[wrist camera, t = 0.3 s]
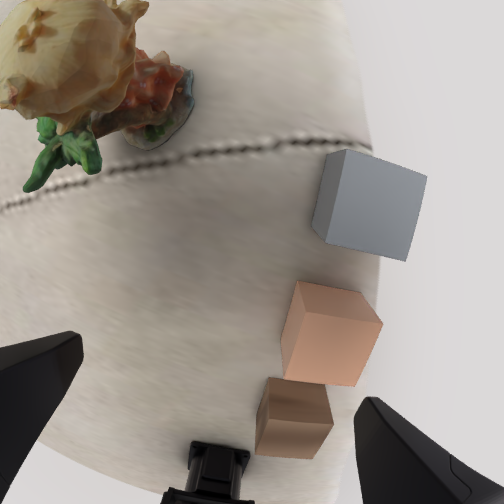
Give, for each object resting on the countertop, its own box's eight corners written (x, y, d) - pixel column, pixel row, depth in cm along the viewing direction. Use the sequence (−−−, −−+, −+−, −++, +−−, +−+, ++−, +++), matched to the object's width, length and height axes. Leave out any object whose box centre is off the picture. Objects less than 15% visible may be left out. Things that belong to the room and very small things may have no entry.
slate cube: (376, 241, 20) (405, 261, 15) (310, 225, 20) (325, 243, 15) (392, 174, 18) (427, 176, 14) (326, 154, 18) (346, 148, 14)
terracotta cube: (339, 347, 22) (354, 386, 17) (280, 338, 22) (283, 379, 17) (360, 292, 21) (383, 323, 16) (297, 280, 21) (305, 311, 16)
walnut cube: (307, 420, 25) (312, 459, 20) (256, 414, 24) (254, 454, 20) (324, 383, 23) (334, 424, 18) (268, 376, 23) (268, 418, 18)
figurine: (157, 44, 16) (36, -69, 2) (232, 98, 18) (157, -51, 3) (82, 138, 18) (-86, 132, 4) (146, 198, 20) (-34, 258, 5)
